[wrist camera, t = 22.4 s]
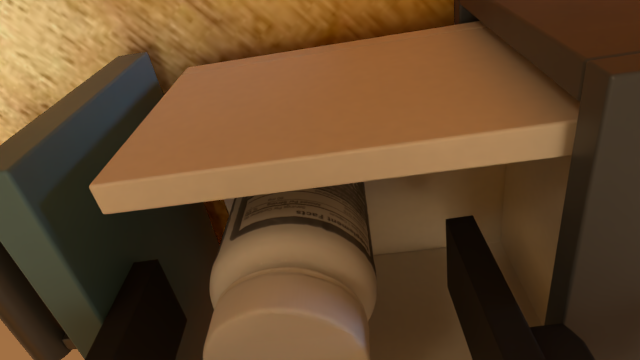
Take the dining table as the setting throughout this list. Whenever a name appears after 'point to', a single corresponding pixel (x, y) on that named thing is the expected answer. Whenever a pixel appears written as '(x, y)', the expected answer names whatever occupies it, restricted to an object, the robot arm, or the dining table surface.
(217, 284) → the pill bottle
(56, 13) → the dining table surface
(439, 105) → the teal drawer
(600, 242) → the drawer cabinet
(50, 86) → the dining table surface
